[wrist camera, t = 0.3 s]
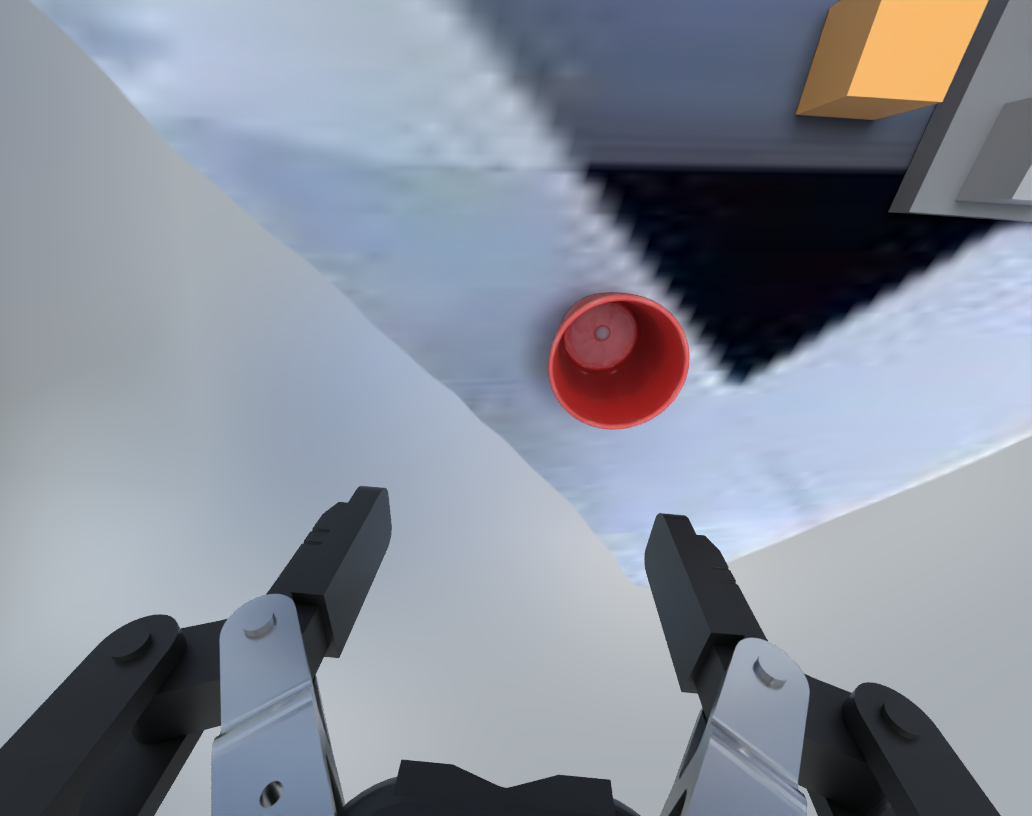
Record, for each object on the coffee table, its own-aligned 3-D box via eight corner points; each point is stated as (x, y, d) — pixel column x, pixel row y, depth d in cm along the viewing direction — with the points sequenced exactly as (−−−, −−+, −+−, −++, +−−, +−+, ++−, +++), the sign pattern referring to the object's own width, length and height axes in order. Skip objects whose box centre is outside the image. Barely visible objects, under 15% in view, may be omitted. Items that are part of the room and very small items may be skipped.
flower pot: (651, 262, 35) (689, 279, 26) (658, 373, 40) (692, 418, 31) (536, 288, 36) (535, 312, 28) (556, 391, 41) (561, 440, 32)
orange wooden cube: (829, 7, 27) (895, -38, 22) (917, 13, 27) (1002, -31, 22) (795, 114, 29) (846, 95, 25) (875, 119, 29) (942, 102, 25)
